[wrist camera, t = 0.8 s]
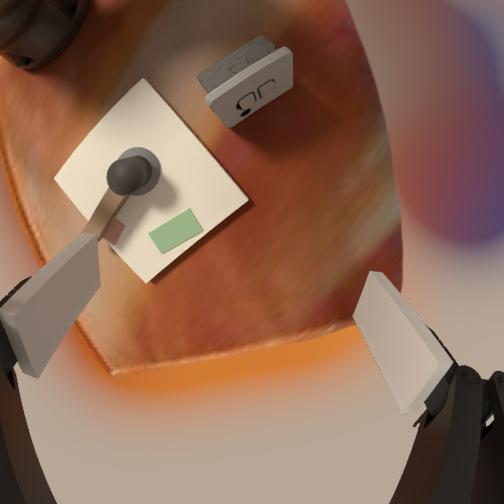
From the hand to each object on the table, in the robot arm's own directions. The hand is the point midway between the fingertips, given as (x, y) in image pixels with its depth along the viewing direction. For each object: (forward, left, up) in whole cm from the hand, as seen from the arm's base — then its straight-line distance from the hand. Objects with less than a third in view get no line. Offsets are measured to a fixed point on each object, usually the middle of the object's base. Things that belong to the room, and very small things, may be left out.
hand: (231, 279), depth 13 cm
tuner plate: (-8, -9, -23) cm, 26 cm away
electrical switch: (-9, +8, -24) cm, 26 cm away
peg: (-9, -13, -22) cm, 27 cm away
